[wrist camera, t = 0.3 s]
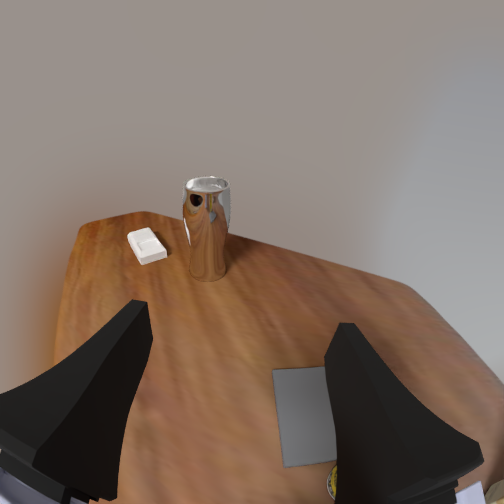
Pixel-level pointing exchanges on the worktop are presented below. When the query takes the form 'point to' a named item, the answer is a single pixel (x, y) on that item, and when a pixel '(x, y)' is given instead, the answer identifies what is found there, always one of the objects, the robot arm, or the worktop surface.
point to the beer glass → (206, 225)
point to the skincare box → (495, 493)
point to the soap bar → (146, 246)
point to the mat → (304, 416)
